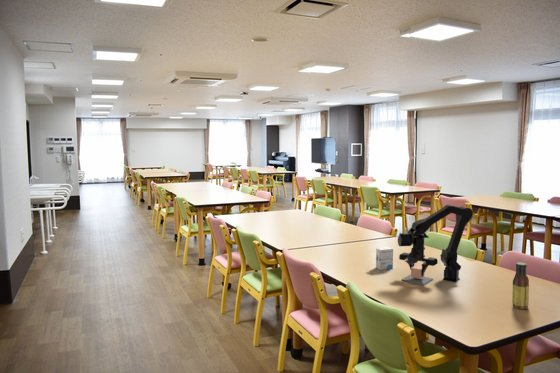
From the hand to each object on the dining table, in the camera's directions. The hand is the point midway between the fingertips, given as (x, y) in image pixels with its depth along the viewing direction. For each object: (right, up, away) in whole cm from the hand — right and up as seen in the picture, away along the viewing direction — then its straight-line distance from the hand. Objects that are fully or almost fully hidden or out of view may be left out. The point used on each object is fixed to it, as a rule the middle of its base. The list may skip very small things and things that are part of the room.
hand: (417, 274), depth 217 cm
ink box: (-12, -1, +21) cm, 24 cm away
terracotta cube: (0, -1, 0) cm, 1 cm away
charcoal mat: (0, -3, 0) cm, 3 cm away
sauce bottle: (+33, -7, -36) cm, 49 cm away
